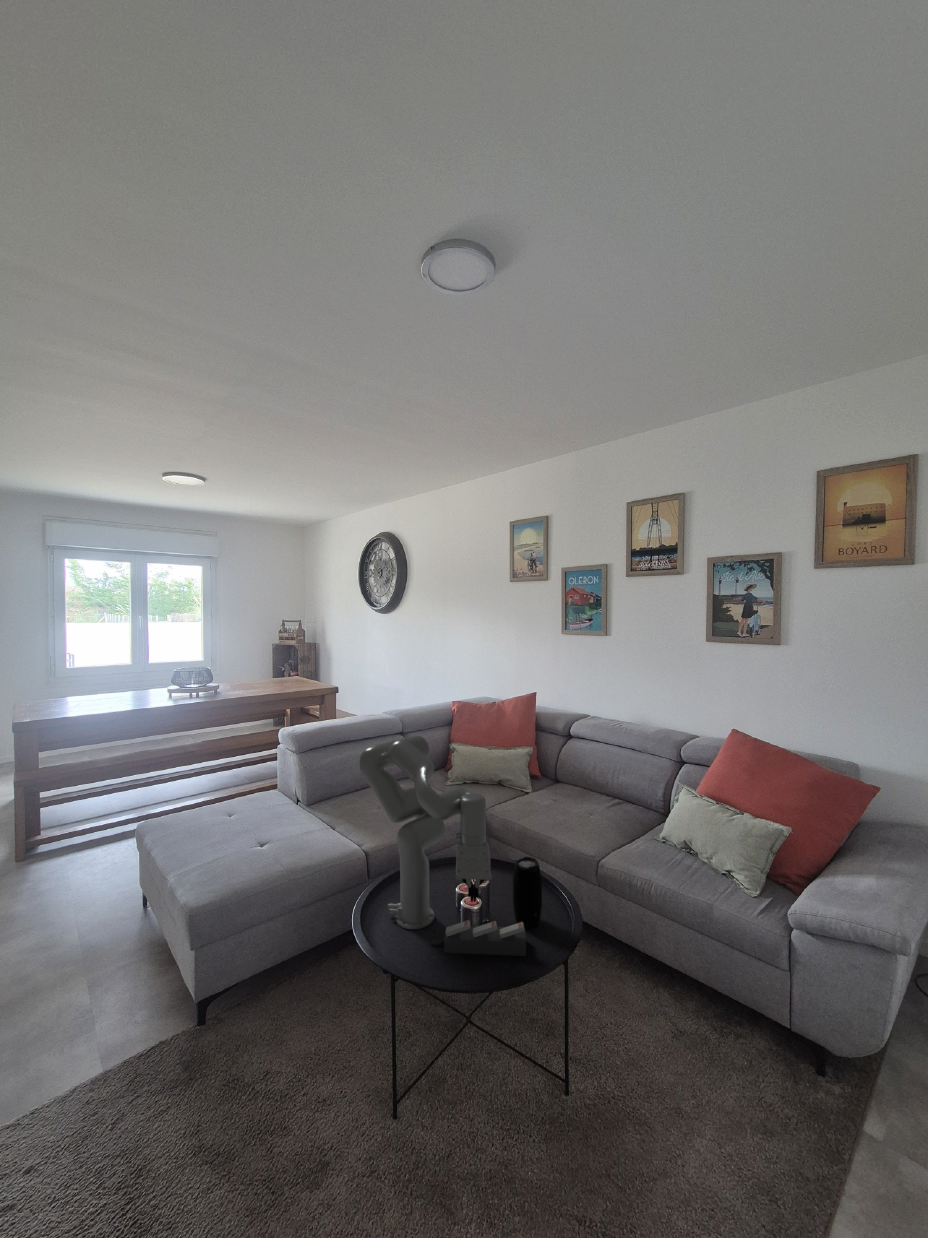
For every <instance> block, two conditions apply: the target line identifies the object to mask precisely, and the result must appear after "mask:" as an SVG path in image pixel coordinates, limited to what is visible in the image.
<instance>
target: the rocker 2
mask: <svg viewBox="0 0 928 1238" xmlns="http://www.w3.org/2000/svg"><path fill="white" fill-rule="evenodd" d="M477 926H478V927H475V928H473V936H474V937H477V936H480V935H483V934H486V933H489V932H492V931H495V930H497V927H498V924H497V921H496V920H494V921H491V922H488V923H484V924H482V925H477Z"/></svg>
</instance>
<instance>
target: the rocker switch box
mask: <svg viewBox="0 0 928 1238" xmlns="http://www.w3.org/2000/svg"><path fill="white" fill-rule="evenodd" d="M452 925H453V924H446V925H445V926H446V928H447V927H449V926H452ZM478 926H479V925H470V929H468V930H465V931H462V932H459V933H456V934H453V935H451V936H448V937H447V935H446V930H445V932H444V937H443V940H434V939H433V940H432V941H431V945H432V946H443V953H445V954H462V955H463V954H465V955H468V954H469V955H491V956H492V955H493V956H494V955H495V956H516V957H517V956H520V957H526V956H527V940H526V939H527V938H526V929H525V928H524V931H523V932H520V933H517V934H514V935H511V936H507V937H504V938H501V937H500V929H502V928H505V927H506V926H497V930H495V931H492V932H489V933H486V934H483V935H480V936H477V937H474V936H473V928H475V927H478ZM446 928H445V929H446Z"/></svg>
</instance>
